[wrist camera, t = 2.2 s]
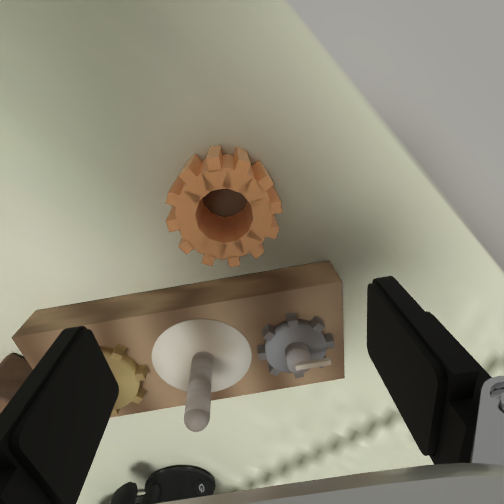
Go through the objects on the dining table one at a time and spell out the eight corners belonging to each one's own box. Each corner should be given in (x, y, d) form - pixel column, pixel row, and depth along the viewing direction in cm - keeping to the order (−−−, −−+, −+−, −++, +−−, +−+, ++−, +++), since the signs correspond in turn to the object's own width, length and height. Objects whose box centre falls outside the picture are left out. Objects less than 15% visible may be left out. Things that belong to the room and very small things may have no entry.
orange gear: (165, 154, 23) (150, 168, 18) (265, 137, 23) (274, 147, 18) (189, 244, 26) (182, 275, 22) (277, 229, 26) (287, 257, 22)
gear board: (84, 393, 33) (31, 504, 24) (35, 310, 28) (-55, 411, 19) (333, 351, 33) (373, 446, 24) (329, 260, 28) (377, 338, 19)
